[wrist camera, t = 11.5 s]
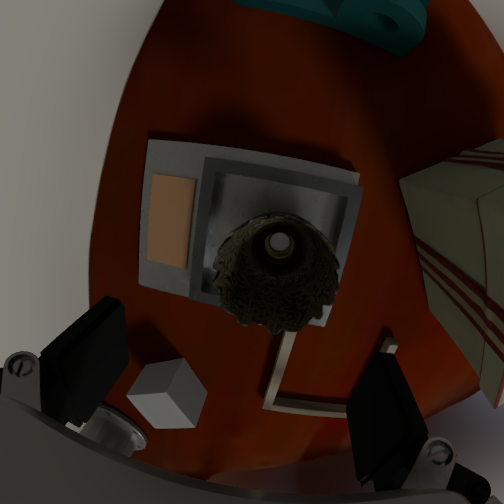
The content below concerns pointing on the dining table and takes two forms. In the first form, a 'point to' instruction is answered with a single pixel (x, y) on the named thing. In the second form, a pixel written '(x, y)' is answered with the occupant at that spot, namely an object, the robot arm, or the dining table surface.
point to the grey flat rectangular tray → (231, 209)
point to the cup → (276, 273)
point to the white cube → (168, 394)
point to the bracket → (360, 19)
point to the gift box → (465, 253)
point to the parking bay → (299, 405)
